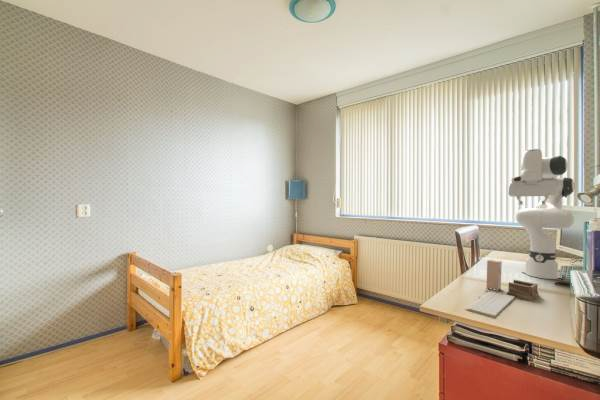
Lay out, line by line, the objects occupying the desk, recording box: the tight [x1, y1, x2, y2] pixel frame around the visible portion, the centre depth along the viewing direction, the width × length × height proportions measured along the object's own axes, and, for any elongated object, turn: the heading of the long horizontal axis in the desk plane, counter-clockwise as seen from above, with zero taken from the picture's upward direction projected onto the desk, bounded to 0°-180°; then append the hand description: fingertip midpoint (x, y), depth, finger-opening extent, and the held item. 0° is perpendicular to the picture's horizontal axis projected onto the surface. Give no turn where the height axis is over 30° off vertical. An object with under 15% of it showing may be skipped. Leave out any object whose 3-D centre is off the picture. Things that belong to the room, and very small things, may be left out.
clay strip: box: [486, 258, 503, 291], centre depth 148 cm, size 4×5×14 cm
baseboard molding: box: [464, 289, 515, 318], centre depth 128 cm, size 31×3×12 cm
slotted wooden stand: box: [506, 279, 539, 302], centre depth 138 cm, size 13×9×6 cm
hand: (532, 204), depth 155 cm, fingers open, 8 cm apart
